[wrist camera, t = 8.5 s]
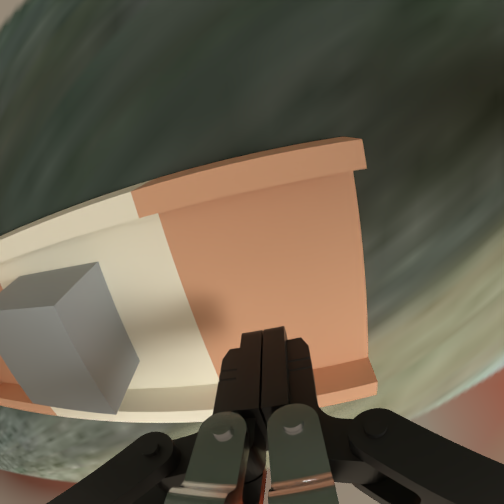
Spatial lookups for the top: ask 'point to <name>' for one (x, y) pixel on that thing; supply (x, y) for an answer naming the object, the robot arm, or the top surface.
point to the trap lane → (217, 273)
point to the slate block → (66, 340)
